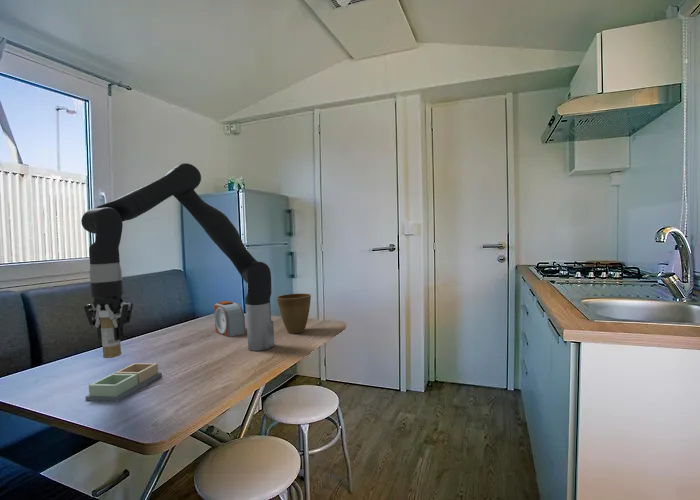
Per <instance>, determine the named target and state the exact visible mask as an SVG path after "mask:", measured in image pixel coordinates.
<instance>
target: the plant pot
mask: <svg viewBox="0 0 700 500" xmlns="http://www.w3.org/2000/svg"><path fill="white" fill-rule="evenodd" d="M311 297H312V294H310V293H300V292H299V293H289V294H283V295H278V296H277V297H276V300H277V305H278V309H279V310H278V311H279V313H280V316H281V319H282V322H283V324H284V327H285V329H286V331H287V333H288V334H294V333H295V334H301V333H303V331H304V332H305V330H306V326H307V323H308V318H309V314H310V309H311V308H310V307H311ZM295 334H294V335H295Z"/></svg>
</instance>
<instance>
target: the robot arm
mask: <svg viewBox="0 0 700 500" xmlns="http://www.w3.org/2000/svg"><path fill="white" fill-rule="evenodd" d="M201 181H202V174H201V172H200V170H199V169H198V167H196V166H195V165H193V164H191V163H186V162H184V163H180V164H178V165H176V166H175V167H173V168H172V169H170V170H169V171H167V173H165V175H164V176H162V177H160V178H158V179H157V180H155V181H152V182H151V183H148V184H146V185H144V186H141V187H140V188H138V189H135V190H132V191H130V192H128V193H126V194H124V195H122V196H120V197H118V198H116V199H114V200H111V201H109V202H106V203H103V204H101V205H97V206H95V207H93V208H90V209H88V210H87V211H85V212H84V213H83V215H82V216H81V226H82V228H83V229H84V230H85V231H86V232H88V233H91V234H94V235H95V240H94V242H93V243H91V244H90V245H89V248H88V254H89V255H88V256H89V283H90V296H91V298H92V299H93V301H92V303H89V304H86V305H84V306H83V309H84V312H85V314H86V315H85V316H86V317H87V318H86V319H87V321H88V324H89V326H93V327H96V330H97V331H96V332H97V334H96V335H97V339H98V340H99V341H101V342H102V336H101V320H100V317H99V311H102V310H106V311H109V318H110V320H112V322H113V324H114V327H115V328H114V336H115V340H116V341H118V340H120V341H121V340H123V338H124V336H125V332H124V331H125V330H124V326H125V325H127V324H129V323H130V321H131V319H132V318H131V317H132V312H133V307H134V304H133V303H132V302H125V301H124V300H123V298H122V296H123V295H124V286H123V285H124V284H123V273H122V272H123V271H122V267H121V262H120V261H121V259H120V251H119V250H120V248H119V247H120V244H121V239H122V233H123V227H124V226H123V222H126V221H131V220H133V219H136V218H138V217H139V216H142V215H143V214H145V213H147V212H148V211H151V210H152V209H154V208H155V207H156V206H159V204H161V203H163V202H164V201H165V200H168V199H169V198H171V197H174V198H175V199H176V200H177V201H178V202H179V203H180V204H181V205H182V207H184V208H185V209H186V210H187V211H188V212H189V213H190V215H191V216H192V218H194V219H195V220H196V222H197V223H198V224H199V225H200V226H201V228H202V229H203V230H204V232H205V233H206V235H207V236H208V237H209V238H210V239H211V241H213V243H214V244H215V245H216V246H217V247H218V248H219V250H220V251H222V253H223V254H225V255H224V256H226V257H227V258H228V259H229V260H230V262H231V263H232V265H234V267H235V269H236V270H237V272H238V273H239V276H240V277H241V278H242V280H243V281H244V282H245V283H246V284H247V286H246V287H247V293H246V296H245V299H244V301H245V315H246V317H245V322H246V335H247V349H248V350H249V351H253V352H254V351H264V350H270V349H272V348H273V347H274V346H275V329H274V321H273V320H272V312H271V296H272V274H271V273H272V271H271V269H270V267H269V265H268V264H267V263H265V262H263V261H258V260H257V259H256V258H255V257H253V255H252V254H251V253H250V251H248V250H247V248H246V247H245V244H244V243H243V242H244V241H243V240H242V238H241V235H240V233H239V231H238V230H237V228H236V227H235V225H234V224H233V223H232V222H231V220H230V219H229V218H228V216H227V215H226V214H224V213H223V212H222V211H221V210H219V209H217V208H215V207H214V206H212V205H210V204H209V203H207V202H205V201H204V200H203V199H202V198H201V197H200V195H199V194H198V193H197V192H196V190H195V189H196V188H198V187H199V185H200V183H201ZM117 313H119V314H118V315H117V316H115V315H114V314H117ZM117 319H118V320H117Z"/></svg>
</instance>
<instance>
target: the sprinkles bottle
mask: <svg viewBox="0 0 700 500" xmlns="http://www.w3.org/2000/svg"><path fill="white" fill-rule="evenodd" d="M118 314H119V313H117V314H114V315H115V316H117V315H118ZM99 317H100V320H101V336H102V341H101V346H102V358H103V359H113V358H114V359H115V358H116V357H120V356H121V355H122V349H121V348H122V347H121V346H122V345H121V340H118V341H116V340H115V336H114V328H115V327H114V324H113V322H112V320H110V318H109V311H106V310H102V311H99ZM117 320H118V319H117Z"/></svg>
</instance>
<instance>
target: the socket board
mask: <svg viewBox="0 0 700 500" xmlns="http://www.w3.org/2000/svg"><path fill="white" fill-rule="evenodd" d="M158 364H159V363H154V362H153V363H151V362H149V363H146V362H145V363H144V362H141V363H139V362H136V363H135V362H134V363H131V364H129V365H128V366H126V367H123V368H122V369H119V370H118V371H115V372H113V373H111V374H109V375H107V376H104V377H103V378H100V379H99V380H97V381H94V382H93V383H90V384H88V392H89V394H88V395H86V396H84V397H85V400H86V401H104V402H105V401H107V402H111V401H112V402H119V401H121V400H122V399H124V398H126V397H128V396H130V395H131V394H133V393H134V392H136V391H138V390H139V389H141V388H143V387H145V386H146V385H148V384H150V383H151V382H153V381H155V380H157V379H158V378H160V377H161V376H163V375H162V374H163V373H162V372H161V371H160V372H159V365H158Z"/></svg>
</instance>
